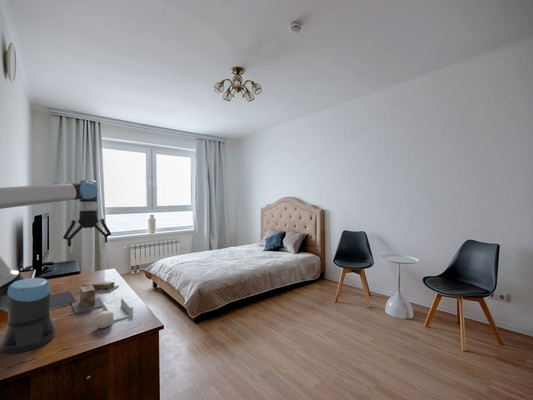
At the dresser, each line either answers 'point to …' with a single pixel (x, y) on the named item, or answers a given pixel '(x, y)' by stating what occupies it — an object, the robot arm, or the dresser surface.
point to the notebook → (61, 299)
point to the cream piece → (103, 319)
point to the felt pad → (79, 308)
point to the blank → (87, 296)
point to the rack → (124, 304)
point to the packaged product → (102, 286)
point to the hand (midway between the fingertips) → (88, 250)
